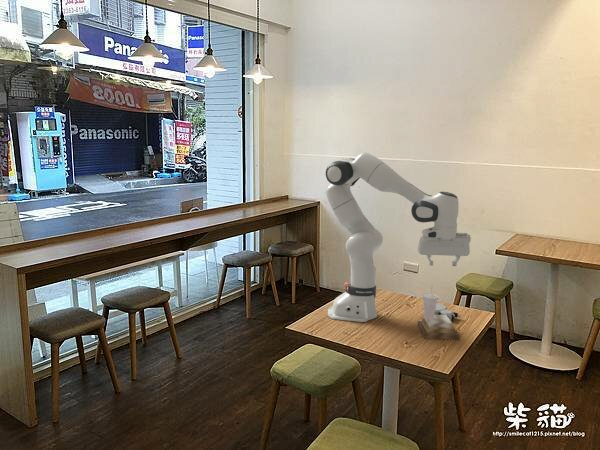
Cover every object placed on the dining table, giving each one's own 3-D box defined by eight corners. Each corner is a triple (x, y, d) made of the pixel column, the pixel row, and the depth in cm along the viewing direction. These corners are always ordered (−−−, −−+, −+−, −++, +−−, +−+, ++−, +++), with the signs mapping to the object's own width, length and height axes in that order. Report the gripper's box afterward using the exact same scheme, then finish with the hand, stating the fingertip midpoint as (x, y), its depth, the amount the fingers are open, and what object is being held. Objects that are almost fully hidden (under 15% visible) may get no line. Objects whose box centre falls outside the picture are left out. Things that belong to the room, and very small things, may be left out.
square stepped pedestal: (424, 338, 200) (425, 324, 199) (417, 325, 214) (418, 312, 213) (459, 339, 200) (460, 325, 199) (449, 326, 214) (450, 313, 213)
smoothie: (439, 317, 207) (441, 285, 204) (432, 322, 202) (435, 289, 199) (424, 314, 211) (427, 282, 208) (418, 318, 206) (420, 286, 203)
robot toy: (462, 322, 222) (437, 309, 234) (463, 312, 221) (438, 300, 233) (443, 327, 215) (418, 313, 228) (444, 317, 214) (419, 304, 227)
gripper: (468, 231, 202) (465, 264, 205) (418, 230, 203) (416, 262, 205) (473, 234, 196) (470, 268, 198) (421, 233, 196) (419, 266, 199)
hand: (442, 265), depth 202 cm, fingers open, 8 cm apart
